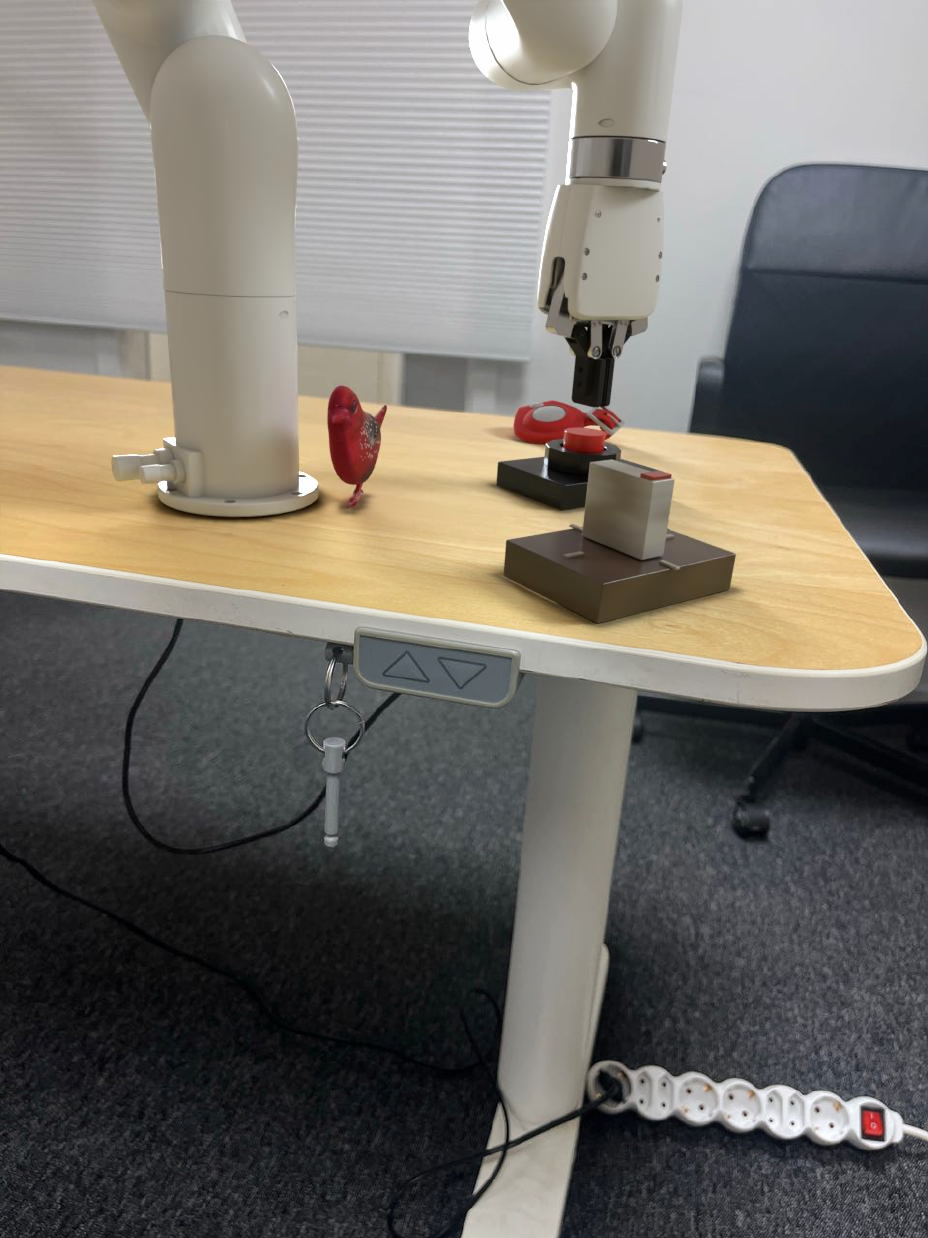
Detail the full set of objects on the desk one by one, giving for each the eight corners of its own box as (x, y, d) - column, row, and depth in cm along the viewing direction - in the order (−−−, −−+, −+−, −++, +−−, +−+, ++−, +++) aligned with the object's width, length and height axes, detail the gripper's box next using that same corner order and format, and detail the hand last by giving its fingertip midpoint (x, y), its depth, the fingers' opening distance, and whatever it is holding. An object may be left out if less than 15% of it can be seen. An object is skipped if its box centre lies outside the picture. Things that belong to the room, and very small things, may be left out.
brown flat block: (601, 626, 52) (607, 583, 51) (499, 574, 59) (502, 535, 58) (734, 591, 58) (741, 552, 57) (628, 548, 65) (633, 513, 64)
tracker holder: (527, 436, 96) (498, 398, 103) (529, 472, 98) (501, 432, 106) (631, 411, 97) (595, 376, 105) (630, 447, 100) (595, 410, 108)
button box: (561, 511, 74) (566, 463, 72) (495, 485, 80) (498, 441, 79) (661, 495, 80) (667, 451, 79) (592, 472, 87) (597, 431, 85)
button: (581, 457, 77) (583, 436, 76) (554, 448, 79) (556, 428, 79) (611, 453, 79) (614, 433, 78) (584, 445, 81) (586, 426, 81)
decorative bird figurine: (314, 525, 66) (312, 388, 62) (369, 471, 82) (371, 360, 78) (351, 529, 66) (352, 391, 62) (400, 474, 82) (403, 362, 78)
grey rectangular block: (581, 536, 59) (590, 458, 57) (603, 532, 60) (612, 455, 58) (641, 560, 55) (653, 477, 53) (663, 556, 56) (676, 474, 54)
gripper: (645, 177, 77) (620, 393, 84) (510, 161, 69) (496, 402, 76) (714, 175, 71) (681, 406, 79) (576, 158, 63) (553, 417, 70)
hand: (590, 403), depth 77 cm, fingers closed
